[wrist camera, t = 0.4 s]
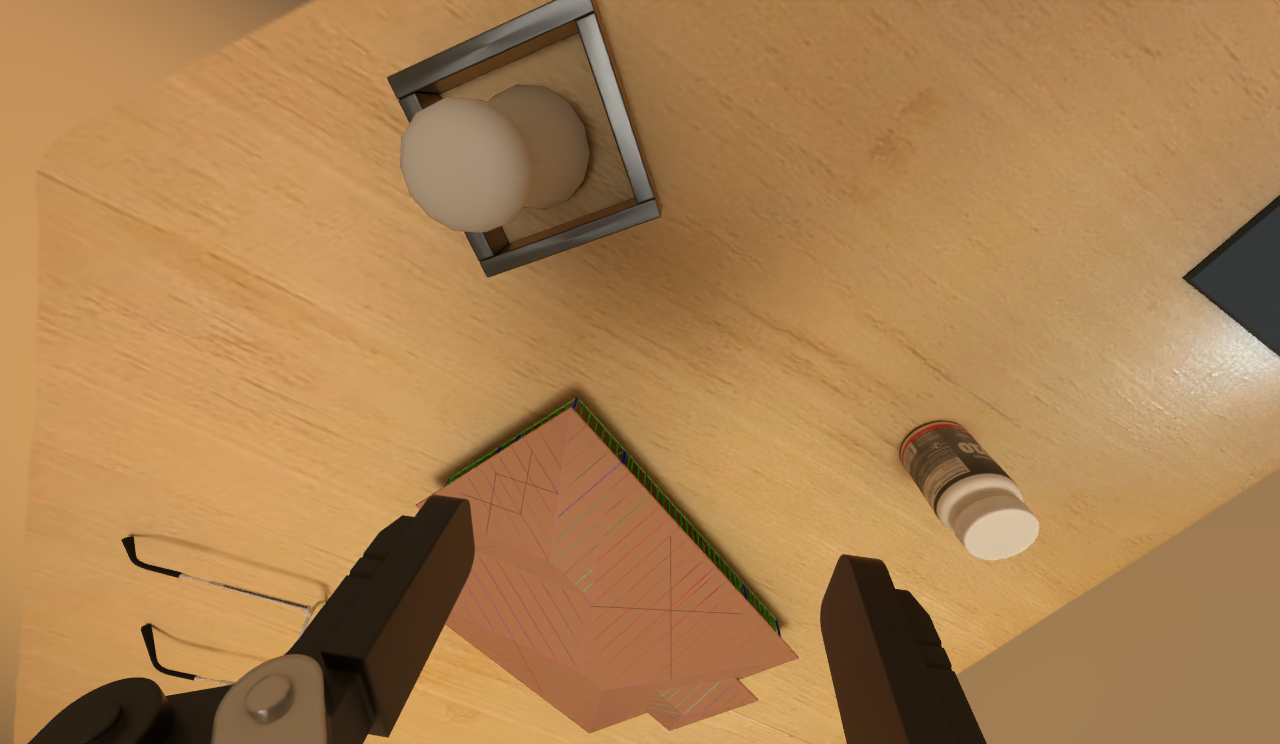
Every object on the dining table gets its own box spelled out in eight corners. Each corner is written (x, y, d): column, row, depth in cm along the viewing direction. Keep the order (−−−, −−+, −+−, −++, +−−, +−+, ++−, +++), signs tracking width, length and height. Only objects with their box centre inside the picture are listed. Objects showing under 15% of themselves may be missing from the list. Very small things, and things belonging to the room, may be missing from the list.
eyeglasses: (333, 676, 53) (303, 728, 48) (147, 632, 50) (97, 681, 46) (341, 579, 45) (306, 630, 41) (125, 523, 43) (63, 570, 39)
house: (609, 711, 53) (600, 805, 46) (368, 518, 42) (305, 604, 34) (804, 639, 46) (830, 737, 39) (578, 382, 34) (555, 454, 27)
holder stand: (414, 80, 26) (385, 77, 24) (595, -2, 24) (586, -16, 22) (502, 263, 31) (486, 278, 28) (661, 207, 29) (661, 216, 26)
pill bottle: (983, 443, 35) (1067, 532, 28) (927, 483, 37) (992, 577, 30) (939, 407, 34) (1015, 490, 27) (884, 451, 36) (941, 539, 28)
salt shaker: (552, 222, 29) (477, 294, 18) (471, 150, 28) (333, 180, 16) (616, 142, 27) (579, 166, 16) (533, 59, 26) (424, 19, 14)
